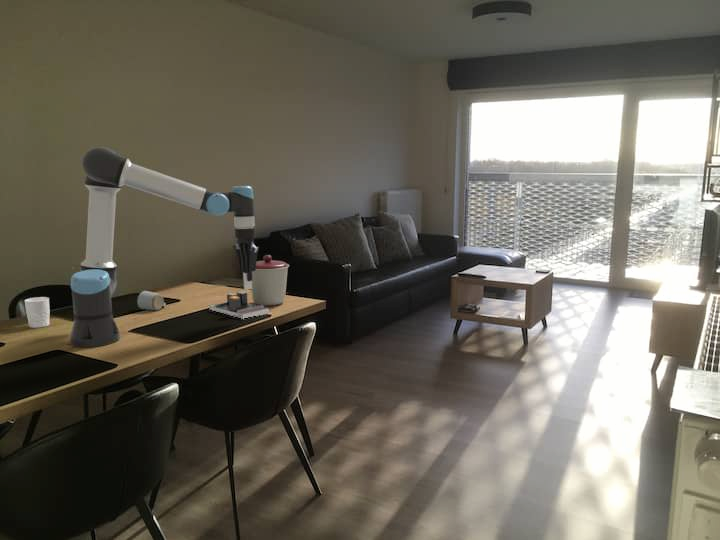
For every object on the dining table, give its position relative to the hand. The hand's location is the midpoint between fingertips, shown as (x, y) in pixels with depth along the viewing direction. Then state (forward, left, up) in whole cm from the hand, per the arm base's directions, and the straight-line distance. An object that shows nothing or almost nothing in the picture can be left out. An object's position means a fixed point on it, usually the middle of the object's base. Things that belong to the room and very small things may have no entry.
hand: (248, 289), depth 217 cm
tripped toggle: (0, +9, -9) cm, 13 cm away
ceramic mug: (-16, +44, -12) cm, 48 cm away
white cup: (-57, +52, -12) cm, 78 cm away
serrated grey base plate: (+4, +12, -12) cm, 18 cm away
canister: (+22, +15, -12) cm, 30 cm away
